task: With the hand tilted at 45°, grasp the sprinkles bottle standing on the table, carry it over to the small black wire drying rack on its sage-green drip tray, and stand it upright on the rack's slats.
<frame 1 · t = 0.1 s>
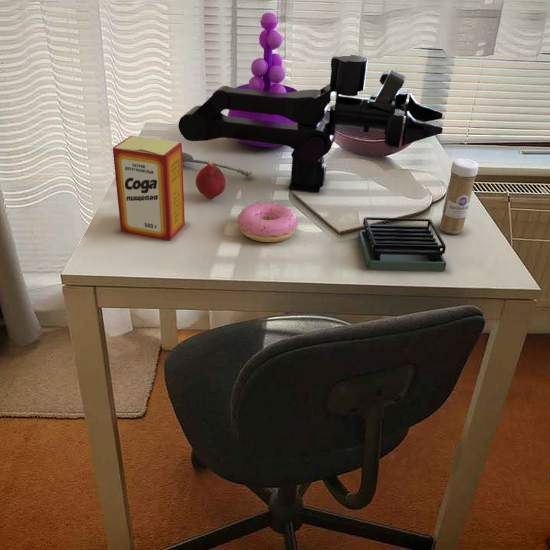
hand: (442, 122, 117), 17 cm above the table, tool horizontal, fingers open, 9 cm apart
doughnut: (267, 232, 111), on the table
sprinkles bottle: (450, 230, 115), on the table
drip tray: (399, 254, 106), on the table
soupspoon: (204, 170, 134), on the table
onion: (210, 200, 122), on the table
decorative plant: (264, 143, 151), on the table
baking soda box: (153, 229, 110), on the table
rack: (401, 241, 105), in the drip tray
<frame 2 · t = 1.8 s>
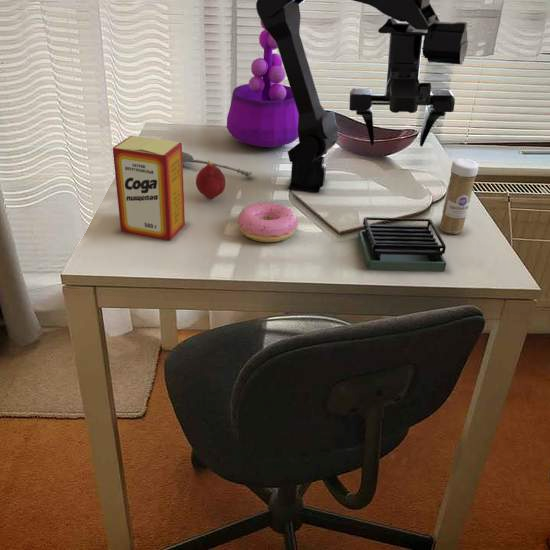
hand: (396, 145, 116), 13 cm above the table, tool pointing down, fingers open, 9 cm apart
nothing on the table moved.
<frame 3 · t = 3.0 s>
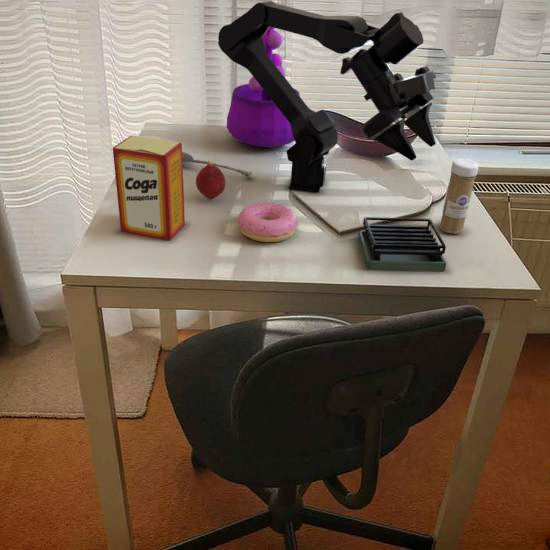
hand: (424, 152, 111), 13 cm above the table, tool tilted 45°, fingers open, 9 cm apart
nothing on the table moved.
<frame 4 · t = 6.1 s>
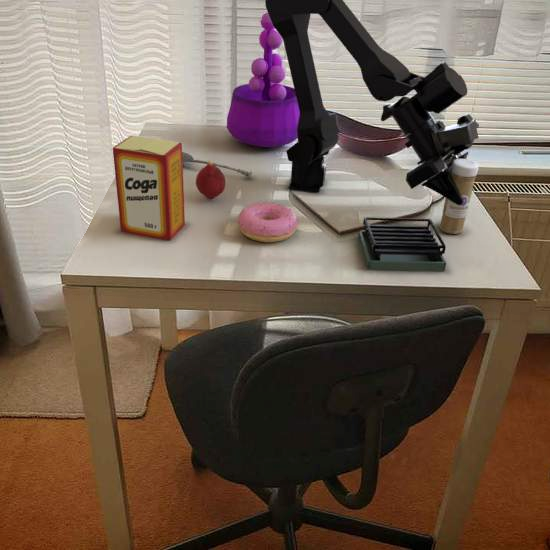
hand: (465, 199, 111), 7 cm above the table, tool tilted 45°, fingers closed on sprinkles bottle, 4 cm apart
sprinkles bottle: (450, 230, 115), on the table, touching gripper
everything else where it was.
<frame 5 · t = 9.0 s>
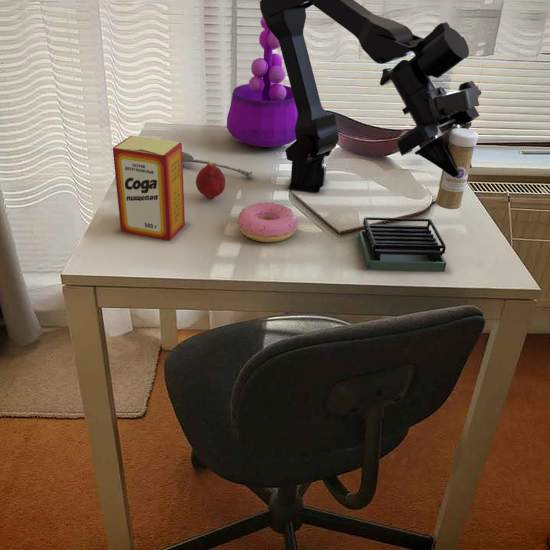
hand: (463, 172, 104), 13 cm above the table, tool tilted 45°, fingers closed on sprinkles bottle, 4 cm apart
sprinkles bottle: (447, 205, 109), point 6 cm above the table, touching gripper
everything else where it was.
when the fingers open (10 cm above the table, at t = 12.2 s): sprinkles bottle stays where it is, resting on rack.
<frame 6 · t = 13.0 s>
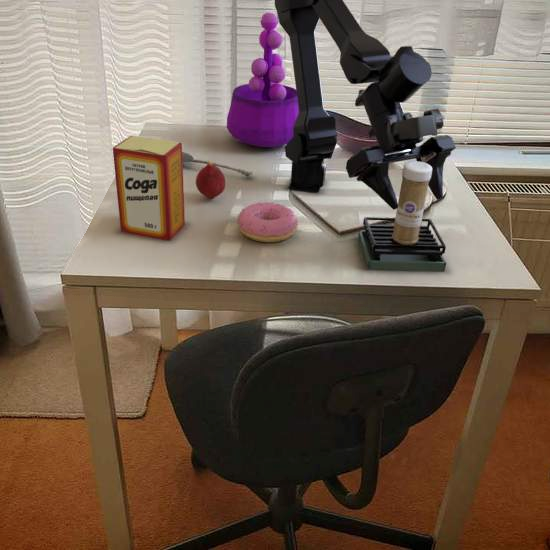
hand: (418, 203, 99), 11 cm above the table, tool tilted 45°, fingers open, 9 cm apart
sprinkles bottle: (404, 240, 104), point 3 cm above the table, touching rack
everything else where it was.
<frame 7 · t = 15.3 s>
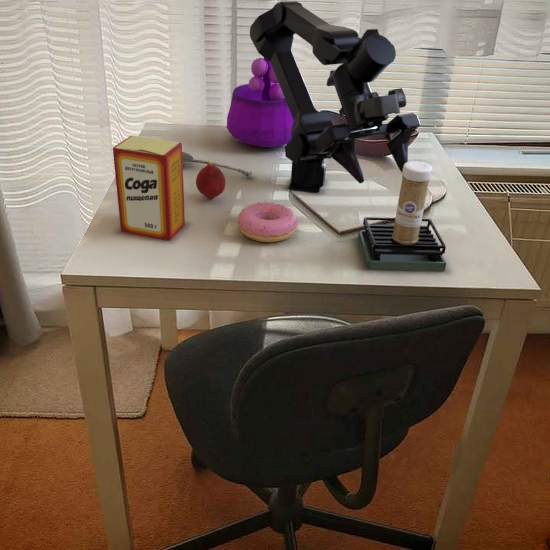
hand: (384, 177, 106), 11 cm above the table, tool tilted 45°, fingers open, 9 cm apart
nothing on the table moved.
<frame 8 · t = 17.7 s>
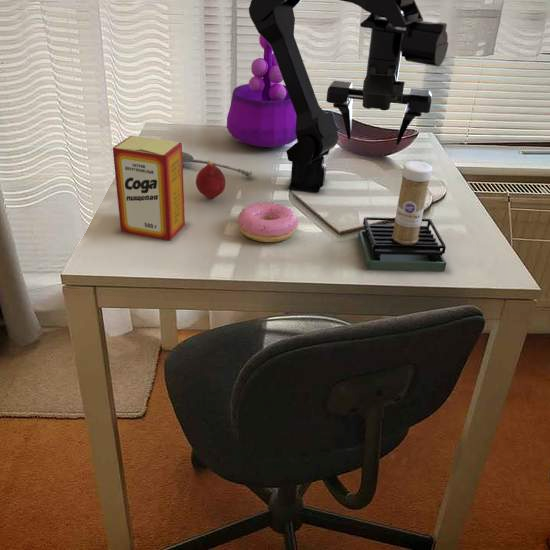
hand: (373, 141, 116), 13 cm above the table, tool pointing down, fingers open, 9 cm apart
nothing on the table moved.
at the end: sprinkles bottle inside the target area on the rack (0.7 cm from its centre), point 3.0 cm above the rack's base; sprinkles bottle tilted 0°; the gripper is holding nothing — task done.
